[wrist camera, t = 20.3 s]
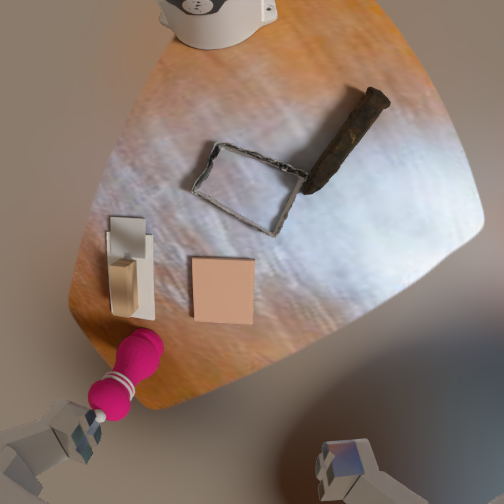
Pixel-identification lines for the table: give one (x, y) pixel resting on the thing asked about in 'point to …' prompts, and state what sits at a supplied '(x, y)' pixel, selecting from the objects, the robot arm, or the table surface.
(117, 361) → the pepper mill
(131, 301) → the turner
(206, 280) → the tile
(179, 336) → the table surface
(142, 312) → the pad
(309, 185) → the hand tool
